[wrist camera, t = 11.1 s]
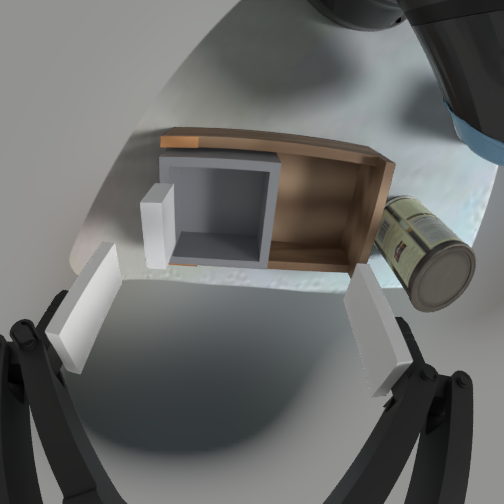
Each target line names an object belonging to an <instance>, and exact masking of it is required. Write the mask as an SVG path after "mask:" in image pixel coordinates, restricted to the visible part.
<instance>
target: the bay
mask: <svg viewBox="0 0 504 504" xmlns="http://www.w3.org/2000/svg"><path fill="white" fill-rule="evenodd" d="M160 147H176V148H198V147H208V148H228V149H244V150H257V151H268V152H276V153H277V155H278V157H279V159H280V161H281V170H280V178H279V186H278V193H277V201H276V208H275V215H274V223H273V230H272V237H271V244H270V252H269V259H268V266H267V269H281V270H300V271H321V272H343V273H348V274H349V276H350V278H352V276H353V273H354V270H355V267H356V264H357V263H360V264H367V262H368V259H369V256H370V253H371V250H372V247H373V244H374V241H375V237H376V234H377V231H378V228H379V224H380V221H381V218H382V214H383V211H384V207H385V204H386V200H387V196H388V193H389V189H390V185H391V181H392V177H393V173H394V169H395V165H396V164H395V163H394V162H392V161H391V160H389V159H388V158H386V157H385V156H383V155H381V154H380V153H378V152H376V151H375V150H373V149H372V148H370V147H368V146H363V145H357V144H352V143H347V142H341V141H335V140H329V139H322V138H316V137H308V136H301V135H293V134H284V133H275V132H265V131H253V130H240V129H223V128H195V127H174V128H172V129H171V130H169V131H168V132H166V133H165V134H163V135H162V136H160ZM168 265H182V266H197V265H187V264H172V263H168Z"/></svg>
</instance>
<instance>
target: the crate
mask: <svg viewBox="0 0 504 504" xmlns="http://www.w3.org/2000/svg"><path fill="white" fill-rule="evenodd" d="M280 170H281V161H280V159H279V157H278V155H277V153H276V152H268V151H257V150H244V149H228V148H208V147H198V148H176V147H169V148H168V149H167V150H166V151H165V152H164V153H163V154H162V155H160V156H159V180H160V183H155V184H154V185H153V186H152V188H151V189H150V190H149V191H148V193H147V194H146V195H145V196H144V198H143V199H142V200H141V202H140V209H141V221H142V231H143V240H144V248H145V257H146V264H147V268H152V269H167V266H168V263H172V264H187V265H203V266H219V267H235V268H253V269H267V266H268V259H269V252H270V244H271V237H272V230H273V223H274V215H275V208H276V201H277V193H278V186H279V178H280Z"/></svg>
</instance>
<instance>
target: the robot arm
mask: <svg viewBox="0 0 504 504" xmlns="http://www.w3.org/2000/svg"><path fill="white" fill-rule="evenodd" d="M308 1H309V2H310V3H311V4H312V5H313V6H314V7H315V8H316V9H317V10H318V11H319V12H321V13H322V14H323V15H324V16H326V17H327V18H329V19H331V20H332V21H334V22H336V23H338V24H340V25H343V26H345V27H348V28H351V29H355V30H360V31H381V30H385V29H388V28H392V27H395V26H397V25H399V24H401V23H402V22H403V21H405V20H406V19H408V21H409V23H410V24H411V26H412V28H413V30H414V32H415V34H416V36H417V38H418V40H419V42H420V44H421V46H422V48H423V50H424V52H425V54H426V56H427V58H428V60H429V63H430V65H431V67H432V69H433V72H434V74H435V77H436V79H437V81H438V84H439V86H440V89H441V92H442V94H443V101H444V104H445V106H446V108H447V110H448V111H449V112H450V114H451V116H452V119H453V122H454V124H455V127H456V130H457V132H458V134H459V136H460V138H461V140H462V141H463V142H464V143H465V144H466V145H467V146H468V147H469V148H470V149H471V150H472V151H473V152H474V153H476V154H477V155H478V156H480V157H482V158H483V159H485V160H487V161H490V162H492V163H494V164H497V165H500V166H503V167H504V0H308ZM121 284H122V279H121V274H120V269H119V264H118V259H117V253H116V248H115V243H110V242H102V243H101V245H100V246H99V248H98V249H97V250H96V252H95V253H94V255H93V256H92V257H91V259H90V260H89V262H88V263H87V265H86V266H85V267H84V269H83V270H82V272H81V273H80V275H79V276H78V278H77V279H76V281H75V282H74V284H73V285H72V287H71V289H70V290H69V291H67V290H62V291H61V292H60V293H59V294H58V295H56V296H55V298H54V299H53V301H52V302H51V305H50V306H49V307H48V309H47V311H46V312H45V313H44V315H43V317H42V318H41V320H40V322H39V323H38V325H37V327H36V328H35V326H34V324H33V322H32V321H30V320H27V319H23V320H20V321H18V322H16V323H15V324H14V325H13V326H12V328H11V330H10V337H11V338H12V340H13V342H7V341H6V340H5V338H4V336H2V335H0V504H43V502H42V497H41V493H40V488H39V484H38V478H37V473H36V467H35V461H34V454H33V446H32V437H31V426H30V410H29V405H30V408H31V412H32V416H33V419H34V422H35V425H36V428H37V432H38V435H39V437H40V440H41V443H42V446H43V448H44V451H45V454H46V456H47V459H48V461H49V464H50V466H51V469H52V471H53V473H54V476H55V478H56V480H57V482H58V485H59V487H60V489H61V491H62V493H63V496H64V499H63V504H127V503H126V502H125V501H124V500H123V499H122V498H121V496H120V495H119V493H118V492H117V490H116V488H115V487H114V485H113V483H112V482H111V480H110V478H109V477H108V475H107V473H106V471H105V470H104V468H103V466H102V465H101V462H100V460H99V458H98V457H97V455H96V453H95V451H94V449H93V447H92V445H91V443H90V441H89V439H88V437H87V434H86V432H85V430H84V428H83V426H82V423H81V421H80V419H79V416H78V414H77V412H76V409H75V407H74V404H73V402H72V399H71V396H70V394H69V391H68V388H67V386H66V383H65V380H64V377H63V374H62V372H61V370H60V368H61V366H62V364H63V365H64V366H65V368H66V369H67V371H70V372H74V373H78V374H81V372H82V369H83V367H84V365H85V362H86V360H87V357H88V355H89V352H90V350H91V348H92V346H93V343H94V341H95V339H96V336H97V334H98V332H99V330H100V327H101V325H102V323H103V321H104V319H105V317H106V315H107V313H108V310H109V308H110V306H111V304H112V302H113V300H114V298H115V296H116V294H117V292H118V290H119V288H120V286H121ZM343 302H344V305H345V308H346V311H347V314H348V317H349V321H350V324H351V327H352V330H353V334H354V337H355V340H356V344H357V347H358V350H359V354H360V357H361V361H362V364H363V368H364V372H365V375H366V379H367V382H368V387H369V390H370V394H371V397H378V396H386V394H387V393H388V392H389V391H390V390H392V393H393V396H392V397H391V399H389V401H388V402H387V403H386V404H385V405H384V406H383V407H386V408H385V410H384V412H383V413H382V416H381V417H380V419H379V421H378V422H377V424H376V426H375V428H374V429H373V431H372V433H371V435H370V436H369V438H368V440H367V441H366V443H365V445H364V446H363V448H362V449H361V451H360V453H359V454H358V456H357V457H356V459H355V460H354V462H353V463H352V465H351V466H350V468H349V469H348V471H347V472H346V473H345V475H344V476H343V478H342V479H341V480H340V482H339V483H338V485H337V486H336V487H335V489H334V490H333V491H332V493H331V494H330V495H329V496H328V498H327V499H326V500H325V502H324V503H323V504H384V502H385V500H386V499H387V497H388V495H389V494H390V492H391V490H392V488H393V487H394V485H395V483H396V481H397V479H398V477H399V476H400V474H401V472H402V470H403V468H404V466H405V464H406V462H407V460H408V458H409V456H410V454H411V451H412V449H413V447H414V445H415V443H416V440H417V438H418V436H419V433H420V438H419V443H418V449H417V454H416V459H415V463H414V468H413V472H412V476H411V481H410V485H409V488H408V492H407V496H406V499H405V503H404V504H464V502H465V497H466V491H467V485H468V478H469V470H470V461H471V451H472V436H473V384H472V380H471V378H470V376H469V375H468V374H467V373H465V372H463V371H456V372H455V373H454V374H453V375H452V376H451V377H450V376H444V375H440V374H438V372H437V371H436V370H435V368H434V367H432V366H431V365H429V364H426V363H425V361H424V359H423V357H422V354H421V352H420V350H419V347H418V345H417V343H416V341H415V339H414V336H413V334H412V332H411V329H410V327H409V325H408V324H407V323H406V321H404V320H403V318H402V317H394V315H393V313H392V310H391V308H390V306H389V304H388V302H387V300H386V297H385V295H384V293H383V291H382V289H381V287H380V285H379V283H378V281H377V279H376V277H375V275H374V273H373V271H372V269H371V267H370V265H369V264H360V263H357V264H356V267H355V270H354V273H353V276H352V278H351V281H350V284H349V286H348V289H347V292H346V294H345V297H344V300H343Z"/></svg>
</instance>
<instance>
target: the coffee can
mask: <svg viewBox="0 0 504 504" xmlns="http://www.w3.org/2000/svg"><path fill="white" fill-rule="evenodd" d="M374 245H375V246H376V248H377V249H378V250H379V251H380V253H381V254H382V256H383V257H384V259H385V260H386V261H387V263H388V265H389V266H390V268H391V269H392V271H393V272H394V274H395V275H396V277H397V278H398V280H399V281H400V283H401V285H402V286H403V288H404V289H405V291H406V292H407V294H408V296H409V299H410V301H411V303H412V305H413V306H414V308H416V309H417V310H419V311H422V312H434V311H438V310H441V309H443V308H445V307H447V306H448V305H450V304H451V303H453V302H454V301H455V300H456V299H457V298H459V297H460V295H461V294H462V293H463V292H464V291H465V290H466V288H467V287H468V285H469V284H470V282H471V280H472V278H473V275H474V272H475V268H476V257H475V254H474V251H473V250H472V248H471V247H469V246H468V245H467V244H465V243H464V242H463V241H462V240H461V239H460V238H459V237H458V236H457V235H456V234H455V233H454V232H453V231H452V230H450V229H449V228H448V227H447V226H446V225H445V224H444V223H443V222H442V221H441V220H440V219H438V218H437V217H436V216H435V215H434V214H433V213H432V212H430V211H429V210H428V209H427V208H426V207H425V206H424V205H422V204H421V202H420V201H419V200H417V199H415V198H413V197H410V196H400V197H396V198H394V199H391V200H390V201H388V202H387V203H386V204H385V207H384V211H383V214H382V218H381V221H380V224H379V228H378V231H377V234H376V237H375V241H374Z"/></svg>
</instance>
